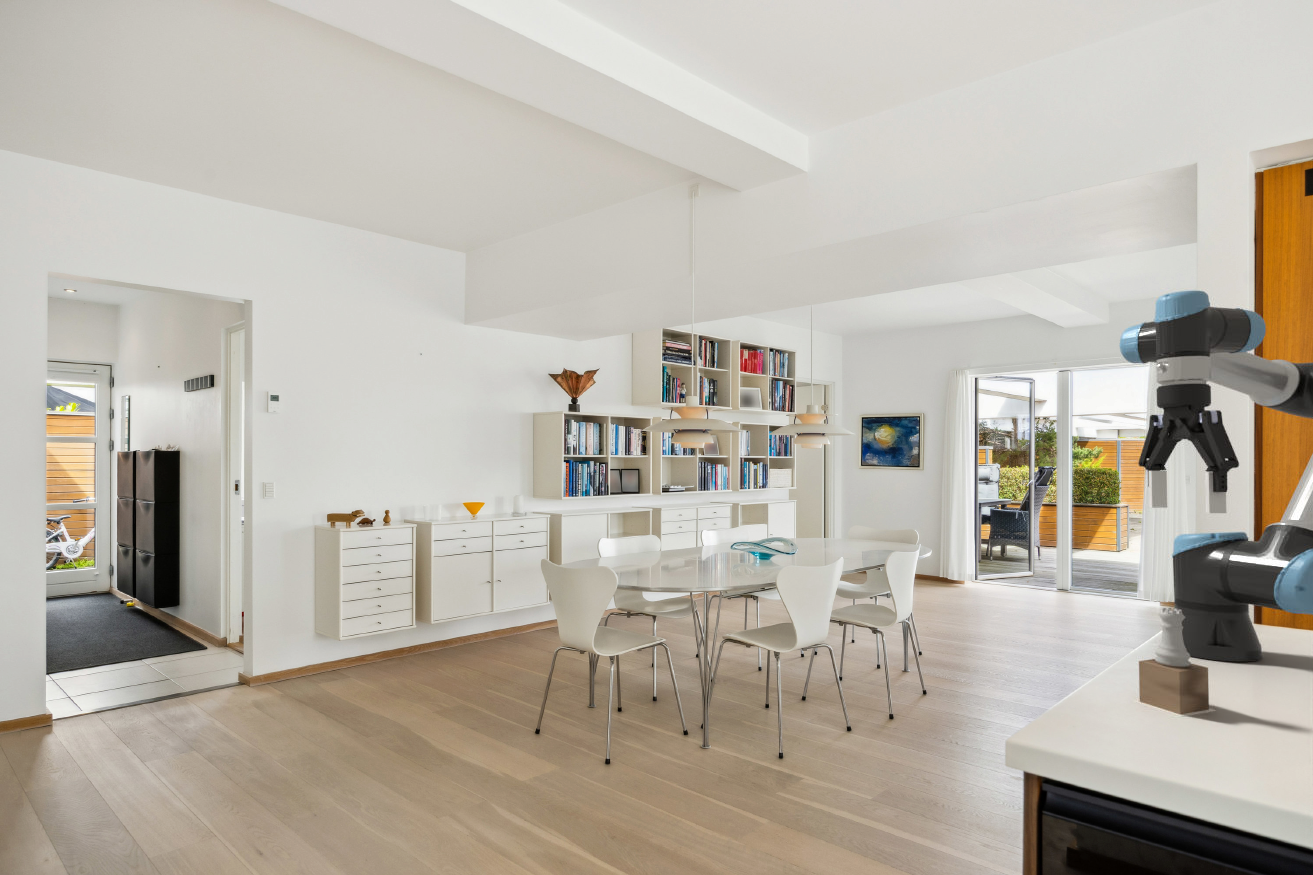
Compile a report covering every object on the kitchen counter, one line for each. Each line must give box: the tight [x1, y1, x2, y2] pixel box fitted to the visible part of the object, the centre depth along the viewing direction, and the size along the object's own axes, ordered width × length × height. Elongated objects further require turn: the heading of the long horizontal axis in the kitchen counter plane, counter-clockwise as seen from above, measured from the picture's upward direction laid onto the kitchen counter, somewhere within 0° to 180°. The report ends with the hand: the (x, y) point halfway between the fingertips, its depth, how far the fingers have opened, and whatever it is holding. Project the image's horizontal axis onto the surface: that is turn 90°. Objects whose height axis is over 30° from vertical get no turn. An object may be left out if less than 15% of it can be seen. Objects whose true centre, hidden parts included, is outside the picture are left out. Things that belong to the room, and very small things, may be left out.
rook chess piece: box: [1154, 607, 1192, 668], centre depth 110 cm, size 4×4×8 cm
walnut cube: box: [1138, 658, 1210, 715], centre depth 110 cm, size 6×6×6 cm
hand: (1185, 510), depth 126 cm, fingers open, 13 cm apart
